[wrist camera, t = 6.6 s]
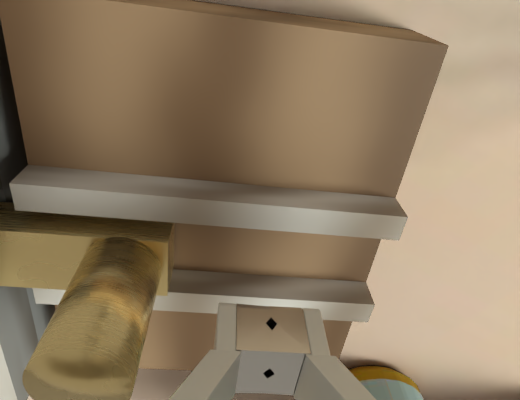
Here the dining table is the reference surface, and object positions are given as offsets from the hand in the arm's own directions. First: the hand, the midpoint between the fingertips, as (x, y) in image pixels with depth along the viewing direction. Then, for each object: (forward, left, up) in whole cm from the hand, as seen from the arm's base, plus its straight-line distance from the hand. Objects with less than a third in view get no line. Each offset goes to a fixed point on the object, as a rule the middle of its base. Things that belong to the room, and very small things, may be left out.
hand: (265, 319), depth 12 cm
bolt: (0, -8, -4) cm, 9 cm away
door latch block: (0, -5, -7) cm, 9 cm away
